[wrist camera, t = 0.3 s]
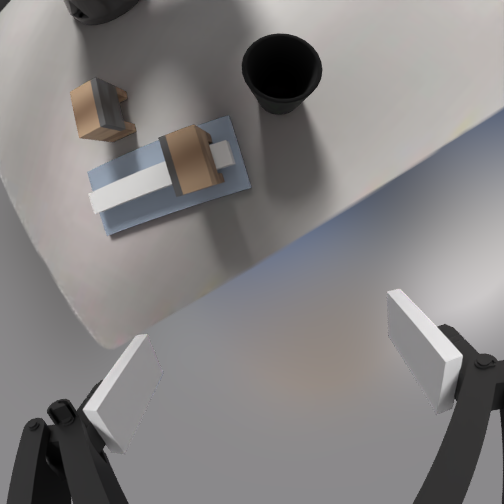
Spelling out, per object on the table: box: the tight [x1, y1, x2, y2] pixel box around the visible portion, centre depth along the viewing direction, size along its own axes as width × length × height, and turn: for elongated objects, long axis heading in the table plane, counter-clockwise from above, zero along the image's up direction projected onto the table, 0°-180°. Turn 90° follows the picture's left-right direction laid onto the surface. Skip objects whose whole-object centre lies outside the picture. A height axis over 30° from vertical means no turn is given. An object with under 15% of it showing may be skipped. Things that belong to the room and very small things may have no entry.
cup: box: [242, 34, 322, 115], centre depth 31 cm, size 8×8×12 cm
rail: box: [87, 115, 251, 236], centre depth 39 cm, size 10×22×4 cm, turn 107°
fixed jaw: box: [159, 125, 225, 197], centre depth 35 cm, size 7×4×9 cm, turn 17°
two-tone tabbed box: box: [70, 77, 136, 142], centre depth 34 cm, size 7×4×9 cm, turn 17°
